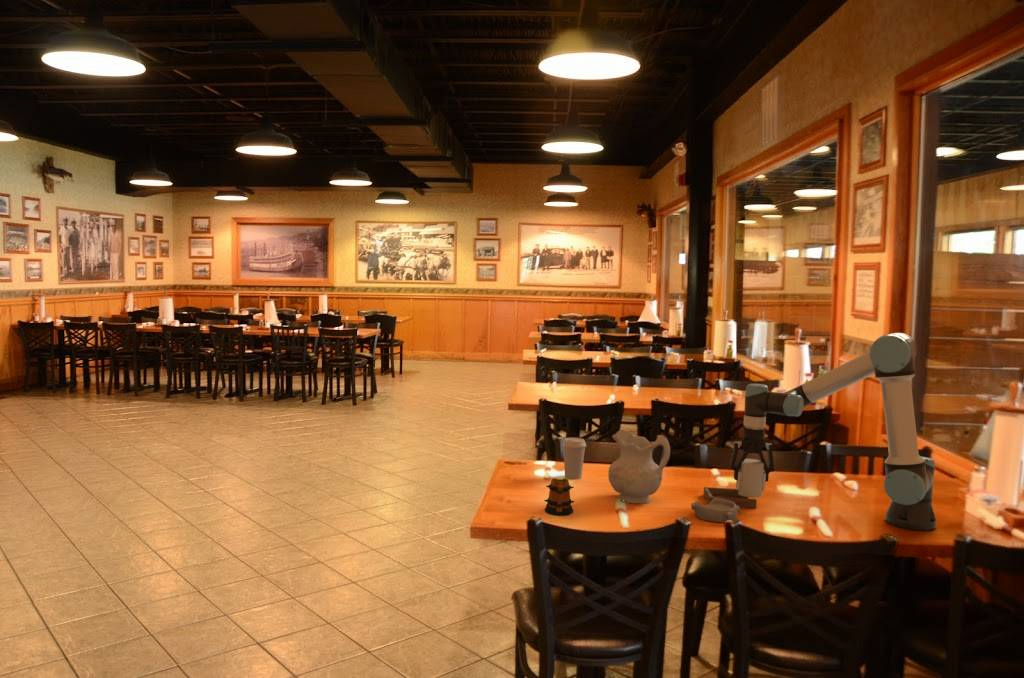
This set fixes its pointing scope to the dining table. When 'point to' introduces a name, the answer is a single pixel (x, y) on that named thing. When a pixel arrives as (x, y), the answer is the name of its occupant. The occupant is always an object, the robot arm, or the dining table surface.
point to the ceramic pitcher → (637, 467)
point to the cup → (751, 478)
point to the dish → (716, 510)
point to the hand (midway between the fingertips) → (750, 489)
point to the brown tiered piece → (559, 498)
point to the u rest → (729, 492)
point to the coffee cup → (573, 457)
